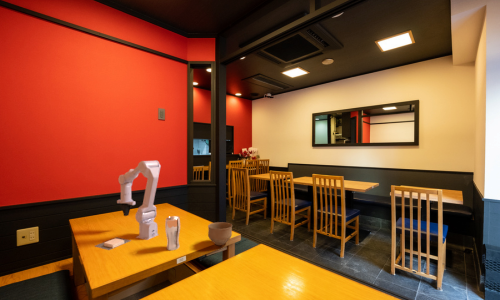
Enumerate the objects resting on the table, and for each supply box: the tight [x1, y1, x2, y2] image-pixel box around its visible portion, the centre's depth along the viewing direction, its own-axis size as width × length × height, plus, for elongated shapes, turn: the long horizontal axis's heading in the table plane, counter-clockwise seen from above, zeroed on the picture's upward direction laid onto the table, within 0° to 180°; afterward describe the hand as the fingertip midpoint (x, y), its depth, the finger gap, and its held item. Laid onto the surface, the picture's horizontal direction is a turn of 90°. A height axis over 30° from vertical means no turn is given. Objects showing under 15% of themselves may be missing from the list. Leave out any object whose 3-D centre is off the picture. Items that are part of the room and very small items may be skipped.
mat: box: [94, 237, 132, 251], centre depth 112 cm, size 12×12×1 cm
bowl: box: [207, 221, 233, 246], centre depth 110 cm, size 13×13×10 cm
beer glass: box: [165, 215, 181, 251], centre depth 107 cm, size 7×7×15 cm
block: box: [104, 237, 124, 249], centre depth 110 cm, size 2×6×7 cm
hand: (126, 215), depth 131 cm, fingers closed
